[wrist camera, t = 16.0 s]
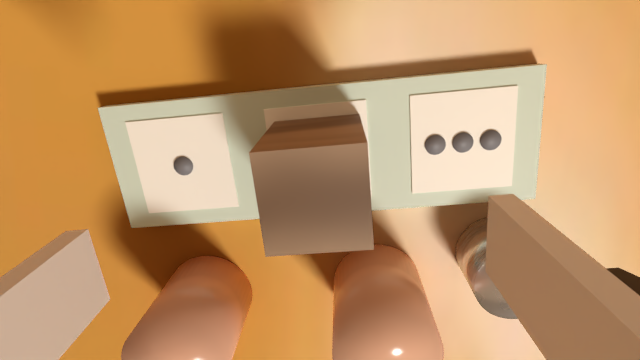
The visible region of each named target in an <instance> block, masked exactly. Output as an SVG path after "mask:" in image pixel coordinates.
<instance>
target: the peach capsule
mask: <svg viewBox="0 0 640 360" xmlns="http://www.w3.org/2000/svg"><path fill="white" fill-rule="evenodd" d="M251 301H252V288H251V285H250V282H249V280H248V278H247V276H246V275H245V274H244V272H243V271H242V270H241V269H240V268H239V267H237V266H236V265H235V264H233V263H232V262H230V261H228V260H226V259H223V258H220V257H215V256H198V257H194V258H191V259H189V260H187V261H185V262H184V263H183V264H181V265H180V266H179V267H178V268H177V270H176V271H175V272H174V274H173V275H172V277H171V278H170V279H169V281H168V282H167V284H166V285H165V286H164V288H163V289H162V291H161V292H160V293H159V295H158V296H157V298H156V299H155V300H154V302H153V303H152V305H151V306H150V307H149V309H148V310H147V312H146V313H145V314H144V316H143V317H142V319H141V320H140V321H139V323H138V324H137V326H136V327H135V328H134V330H133V331H132V333H131V334H130V335H129V337H128V338H127V340H126V341H125V343H124V345H123V349H122V355H121V359H122V360H232V358H233V355H234V352H235V349H236V346H237V343H238V340H239V337H240V334H241V331H242V328H243V326H244V323H245V320H246V317H247V314H248V311H249V308H250V305H251Z"/></svg>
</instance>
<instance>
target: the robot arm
mask: <svg viewBox="0 0 640 360" xmlns="http://www.w3.org/2000/svg"><path fill="white" fill-rule="evenodd" d="M485 272H486V273H487V275H488V276H489V277H490V279H491V280H492V282H493V283H494V285H495V286H496V288H497V289H498V290H499V292H500V293H501V295H502V296H503V298H504V299H505V301H506V302H507V303H508V305H509V306H510V308H511V309H512V311H513V312H514V314H515V315H516V316H517V318H518V319H519V321H520V322H521V324H522V325H523V327H524V328H525V329H526V331H527V332H528V334H529V335H530V337H531V338H532V340H533V341H534V343H535V344H536V345H537V347H538V348H539V350H540V351H541V353H542V354H543V356H544V357H545V358H546V360H640V277H638V276H635V275H633V274H631V273H629V272H627V271H624V270H622V269H620V268H609V269H606V268H605V267H603V266H602V265H601V264H600V263H598V262H597V261H596V260H595V259H593V258H592V257H591V256H590V255H588V254H587V253H586V252H585V251H583V250H582V249H581V248H580V247H579V246H577V245H576V244H575V243H574V242H572V241H571V240H570V239H569V238H567V237H566V236H565V235H564V234H562V233H561V232H560V231H559V230H557V229H556V228H555V227H554V226H553V225H551V224H550V223H549V222H548V221H546V220H545V219H544V218H543V217H541V216H540V215H539V214H538V213H536V212H535V211H534V210H533V209H531V208H530V207H529V206H528V205H527V204H525V203H524V202H523V201H522V200H520V199H519V198H518V197H517V196H515V195H514V194H505V195H493V196H489V197H488V220H487V244H486V268H485ZM109 300H110V297H109V294H108V291H107V287H106V284H105V281H104V278H103V275H102V272H101V269H100V266H99V262H98V259H97V256H96V253H95V250H94V247H93V244H92V240H91V237H90V234H89V231H88V229H85V230H73V231H65V232H64V233H62V234H61V235H60V236H58V237H57V238H55V239H54V240H53V241H51V242H50V243H48V244H47V245H46V246H44V247H43V248H41V249H40V250H38V251H37V252H36V253H34V254H33V255H31V256H30V257H29V258H27V259H26V260H24V261H23V262H22V263H20V264H19V265H17V266H16V267H15V268H13V269H12V270H10V271H9V272H8V273H6V274H5V275H3V276H2V277H0V360H59V358H60V357H61V356H62V355H63V354H64V353H65V351H66V350H67V349H68V348H69V347H70V346H71V344H72V343H73V342H74V341H75V340H76V339H77V337H78V336H79V335H80V334H81V333H82V332H83V330H84V329H85V328H86V327H87V326H88V325H89V323H90V322H91V321H92V320H93V319H94V318H95V316H96V315H97V314H98V313H99V312H100V311H101V309H102V308H103V307H104V306H105V305H106V304H107V302H108V301H109Z"/></svg>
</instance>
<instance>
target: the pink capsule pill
mask: <svg viewBox="0 0 640 360" xmlns="http://www.w3.org/2000/svg"><path fill="white" fill-rule="evenodd" d="M332 355H333V360H443V358H444V348H443V343H442V340H441V337H440V334H439V331H438V329H437V326H436V323H435V320H434V317H433V314H432V311H431V308H430V305H429V303H428V300H427V297H426V294H425V291H424V288H423V285H422V282H421V279H420V277H419V274H418V271H417V268H416V266H415V264H414V263H413V261H412V260H411V259H410V257H408V256H407V255H406V254H405V253H404V252H402V251H400V250H399V249H397V248H394V247H391V246H387V245H380V244H377V245H374V250H361V251H352V252H350V253H349V254H348V255H346V256H345V257H344V258H343V259H342V261H341V262H340V263H339V265H338V267H337V269H336V272H335V275H334V300H333V349H332Z"/></svg>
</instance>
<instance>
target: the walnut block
mask: <svg viewBox="0 0 640 360" xmlns="http://www.w3.org/2000/svg"><path fill="white" fill-rule="evenodd" d="M249 157H250V163H251V169H252V175H253V181H254V188H255V194H256V200H257V206H258V212H259V218H260V224H261V231H262V237H263V243H264V249H265V255H266V257H268V256H284V255H299V254H315V253H330V252H345V251H361V250H374V240H373V224H372V207H371V191H370V175H369V158H368V142H367V139H366V136H365V132H364V129H363V125H362V122H361V118H360V115H359V114H351V115H340V116H329V117H318V118H307V119H296V120H285V121H274V123H273V124H272V125H271V126H270V127H269V129H268V130H267V131H266V132H265V134H264V135H263V136H262V137H261V138H260V140H259V141H258V142H257V143H256V145H255V146H254V147H253V148H252V149H251V151H250V152H249Z"/></svg>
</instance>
